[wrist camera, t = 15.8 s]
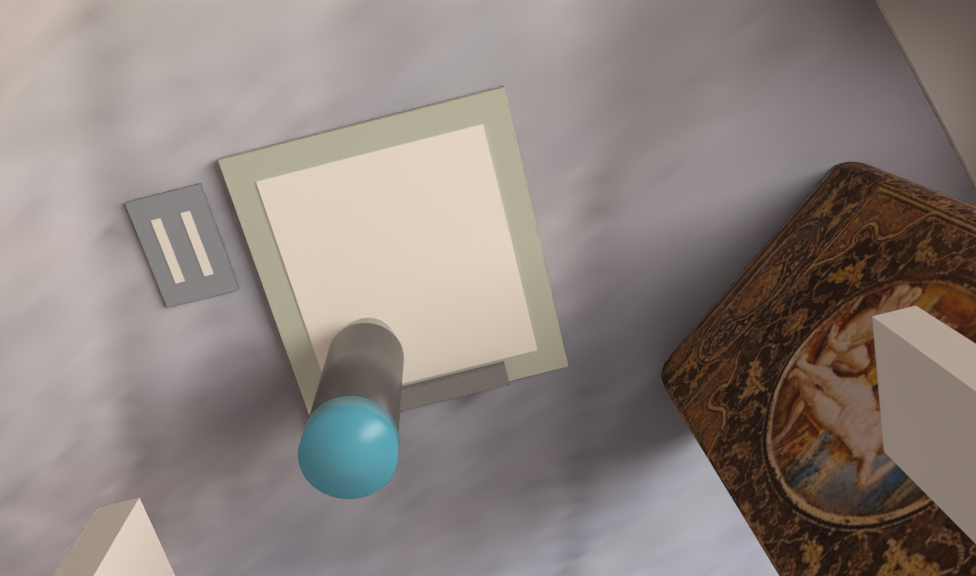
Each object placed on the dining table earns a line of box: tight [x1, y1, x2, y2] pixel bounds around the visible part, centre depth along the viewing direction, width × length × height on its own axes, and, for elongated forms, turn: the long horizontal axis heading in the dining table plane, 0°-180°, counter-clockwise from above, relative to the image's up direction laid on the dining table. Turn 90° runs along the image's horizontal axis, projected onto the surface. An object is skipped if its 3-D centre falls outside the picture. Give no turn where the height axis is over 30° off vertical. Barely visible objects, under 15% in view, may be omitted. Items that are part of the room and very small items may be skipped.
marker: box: [298, 318, 404, 499], centre depth 40 cm, size 4×4×12 cm
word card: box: [125, 183, 239, 308], centre depth 44 cm, size 6×4×1 cm, turn 14°
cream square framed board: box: [218, 86, 569, 415], centre depth 45 cm, size 16×15×1 cm
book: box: [662, 162, 976, 576], centre depth 35 cm, size 16×6×25 cm, turn 143°
